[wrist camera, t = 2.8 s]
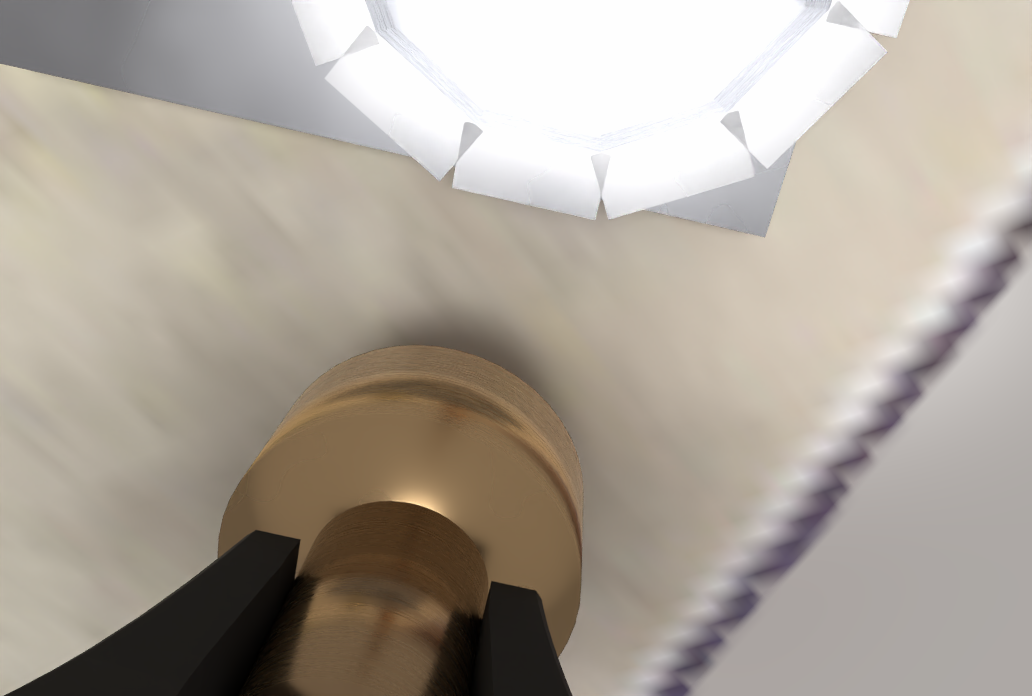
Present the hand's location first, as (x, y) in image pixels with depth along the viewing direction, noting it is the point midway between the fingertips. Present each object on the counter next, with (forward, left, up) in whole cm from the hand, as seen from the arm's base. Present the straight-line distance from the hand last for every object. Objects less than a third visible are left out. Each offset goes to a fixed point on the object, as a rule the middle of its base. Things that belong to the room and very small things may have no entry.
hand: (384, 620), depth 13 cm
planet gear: (0, 0, -3) cm, 3 cm away
